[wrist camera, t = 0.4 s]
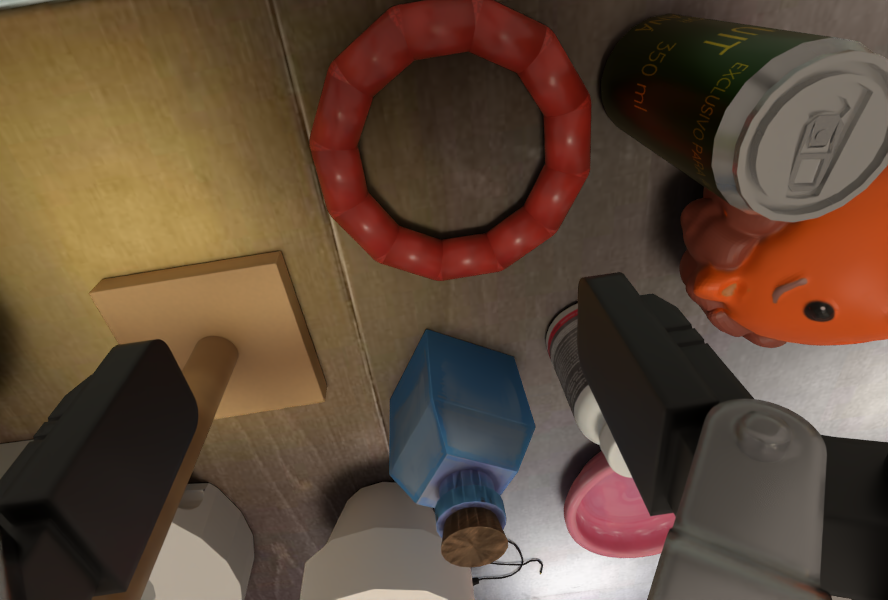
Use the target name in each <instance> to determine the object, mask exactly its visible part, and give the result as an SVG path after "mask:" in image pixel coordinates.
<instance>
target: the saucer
mask: <svg viewBox="0 0 888 600" xmlns="http://www.w3.org/2000/svg"><path fill="white" fill-rule="evenodd" d="M564 518H565V522H566V526H567V529H568V531H569V533H570V535H571V536H572V538H573V539H574V540H575V541H576V542H577V543H578V544H579V545H580V546H582V547H583V548H585V549H587V550H589V551H591V552H593V553H596V554H599V555H603V556H608V557H616V558H637V557H645V556H651V555H656V554H660V553H662V549H663V546H664V543H665V540H666V537H667V534H668V532H669V529H670V528H672V527H673V525H674V521H675V518H676V517H675V515H674V513H669V514H663V515H656V516H650V514H649V512H648V510H647V508H646V506H645V504H644V501H643V499H642V497H641V495H640V493H639V491H638V489H637V487H636V484H635V482H634V480H633V478H628V477H624V476H621V475H619V474H617V473H616V472H615V471H613V470H612V468H611V467H610V465H609V464H608V462H607V460H606V458H605V455H604V454H603V452H602V451H600V452H599V453H598V454H596V455H595V456H594V457H593V458H591V459H590V460H589V461H588V462H587V464H586V465H585V466H584V468H583V469H582V470H581V472H580V474H579V475H578V476H577V478H576V479H575V481H574V482H573V484H572V486H571V488H570V491H569V492H568V494H567V497H566V500H565V504H564Z"/></svg>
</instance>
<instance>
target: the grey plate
mask: <svg viewBox="0 0 888 600" xmlns="http://www.w3.org/2000/svg"><path fill="white" fill-rule="evenodd" d="M30 441H34V440H27V441H20V442H12V443H5V444H0V479H1V478H2V476H3V475H4V474H5V473H6V471H7V470H8V469H9V467H10V466H11V465H12V464H13V462H14V461H15V460H16V458H17V457H18V456H19V455H20V453H21V452H22V451H23V449H24V448H25V447H26V445H27V444H28V443H29V442H30ZM253 561H254V543H253V534H252V532H251V530H250V528H249V526H248V524H247V522H246V520H245V518H244V516H243V514H242V512H241V511H240V510H239V509H238V508H237V507H236V506H235V505H234V504H233V503H232V502H231V501H230V500H229V499H228V498H227V497H226V496H225V495H224V494H223V493H222V492H221V491H220V490H219V489H218V488H217V487H215V486H213V485H212V484H210V483H199V484H187V486H186V489H185V491H184V494H183V496H182V498H181V501H180V503H179V506H178V508H177V511H176V513H175V516H174V518H173V521H172V523H171V526H170V528H169V531H168V533H167V536H166V538H165V541H164V543H163V545H162V548H161V550H160V553H159V555H158V558H157V560H156V563H155V565H154V568H153V570H152V573H151V575H150V578H149V580H148V583H147V585H146V587H145V590H144V592H143V595H142V597H141V600H244V599H245V595H246V590H247V586H248V582H249V578H250V574H251V570H252V565H253Z"/></svg>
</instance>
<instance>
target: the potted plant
mask: <svg viewBox="0 0 888 600" xmlns="http://www.w3.org/2000/svg"><path fill="white" fill-rule="evenodd" d="M441 544H442V538H441V537H440V536H439V534H438V533H437V529H436V517H435V514H434V511H433V509H432V507H427V506H422V505H418V504H416V503H415V502H414V501H413V500H412V499H411V498H410V497H409V496H408V495H407V494H406V492H405V491H404V490H403V489H402V488H401V487H400V486H399V485H398V484H397V483H392V482H380V483H377V484H374V485H370V486H367V487H364V488H361V489H360V490H359V491H357V492H356V493H355V494H354V495H353V496H352V497H351V498H350V499H349V500H347V502H346V505H345V507H344V509H343V511H342V513H341V515H340V517H339V519H338V521H337V523H336V525H335V527H334V529H333V531H332V533H331V535H330V537H329V539H328V541H327V543H326V545H325V546H324V547H323V548H322V549H321V550H320V551H318V552H317V553H316V554H315V555H314V556H313V557H311V558H310V559H309V560H308V561H307V562H306V563H305V568H304V575H303V582H302V588H301V595H300V600H475V598H474V590H473V582H472V574H471V568H470V567H460V566H456V565H453V564H451V563H449V562H448V561H446V560H445V559H444V557H443V556H442V554H441Z"/></svg>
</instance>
